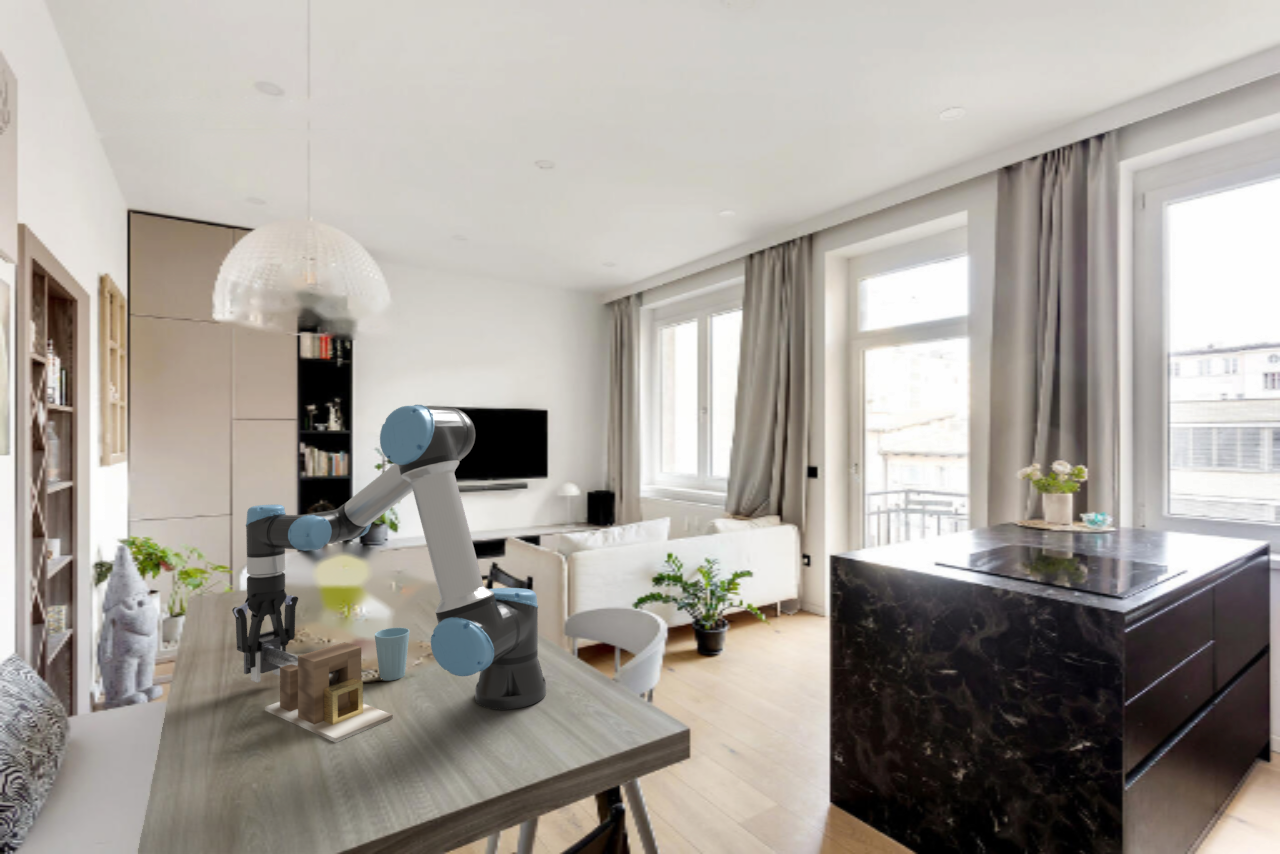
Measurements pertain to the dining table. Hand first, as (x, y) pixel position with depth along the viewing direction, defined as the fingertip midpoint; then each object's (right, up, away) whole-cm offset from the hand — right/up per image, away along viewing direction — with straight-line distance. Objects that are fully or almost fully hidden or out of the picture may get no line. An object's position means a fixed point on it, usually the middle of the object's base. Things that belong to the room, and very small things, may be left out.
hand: (266, 677), depth 145 cm
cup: (+26, -3, +7) cm, 27 cm away
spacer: (+25, +2, -17) cm, 30 cm away
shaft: (+10, +2, -6) cm, 12 cm away
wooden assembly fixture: (+21, -2, -14) cm, 26 cm away
